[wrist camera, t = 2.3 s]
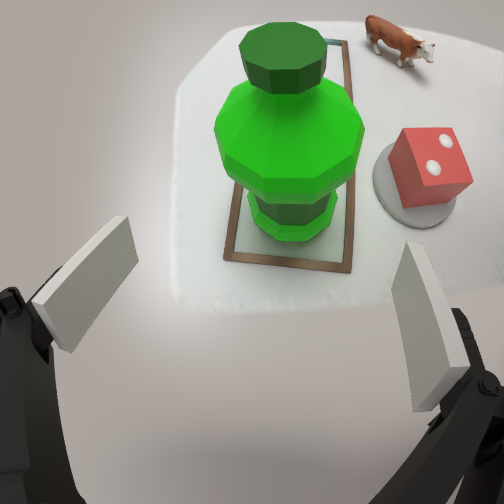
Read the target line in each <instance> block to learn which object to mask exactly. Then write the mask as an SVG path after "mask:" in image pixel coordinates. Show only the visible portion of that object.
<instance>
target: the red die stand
mask: <svg viewBox="0 0 504 504" xmlns="http://www.w3.org/2000/svg"><path fill="white" fill-rule="evenodd" d="M473 182H474V181H473V178H472V176H471V173H470V170H469V167H468V165H467V162H466V160H465V157H464V155H463V152H462V150H461V147H460V145H459V143H458V140H457V138H456V136H455V134H454V131H453V129H452V128H403V129H402V131H401V133H400V135H399V137H398V139H397V141H396V142H394V143H392V144H390V145H388V146H387V147H386V148H385V149H384V150H383V151H382V152H381V154H380V156H379V158H378V160H377V162H376V164H375V167H374V171H373V183H374V188H375V191H376V194H377V197H378V199H379V201H380V202H381V204H382V206H383V207H384V208H385V209H386V211H387V212H388V213H389V214H390V215H391V216H392V217H394V218H395V219H396V220H398V221H399V222H401V223H403V224H405V225H407V226H410V227H414V228H429V227H433V226H435V225H437V224H438V223H440V222H441V221H443V220H444V219H446V218H447V217H448V216H449V214H450V213H451V212H452V210H453V208H454V205H455V202H456V196H457V195H458V194H459V193H461V192H462V191H463V190H464V189H465V188H467V187H468V186H469V185H470V184H471V183H473Z"/></svg>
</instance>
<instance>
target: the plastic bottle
mask: <svg viewBox="0 0 504 504" xmlns="http://www.w3.org/2000/svg"><path fill="white" fill-rule="evenodd" d="M239 49H240V53H241V57H242V62H243V66H244V70H245V72H246V74H247V77H248V79H249V80H247V81H245V82H243V83H241V84H239V85H237V86H236V87H234V88H233V89H232V90H231V92H230V94H229V96H228V98H227V99H226V101H225V103H224V105H223V107H222V109H221V110H220V112H219V114H218V116H217V118H216V121H215V126H214V132H215V136H216V140H217V143H218V147H219V151H220V155H221V158H222V162H223V166H224V168H225V170H226V172H227V174H228V176H229V177H231V178H232V179H233V180H234V181H236V182H237V183H239V184H240V185H242V186H243V187H245V188H246V189H248V190H249V193H248V195H247V198H248V201H249V205H250V208H251V211H252V215H253V218H254V222H255V224H256V225H257V226H258V227H260V228H261V229H262V230H264V231H265V232H266V233H268V234H269V235H271V236H272V237H273V238H275V239H276V240H277V241H308V240H309V239H311V238H312V237H314V236H315V235H316V234H318V233H319V232H321V231H322V230H324V229H325V228H326V227H328V226H329V224H330V221H331V218H332V215H333V212H334V208H335V205H336V202H337V198H338V196H337V194H336V191H335V189H336V188H337V187H339V186H340V185H342V184H343V183H345V182H346V181H347V180H349V179H350V178H351V177H352V175H353V173H354V170H355V168H356V164H357V160H358V156H359V152H360V148H361V144H362V140H363V136H364V131H365V128H364V125H363V122H362V119H361V117H360V115H359V113H358V111H357V110H356V108H355V106H354V104H353V103H352V101H351V99H350V98H349V96H348V94H347V93H346V91H345V89H344V88H343V87H342V86H340V85H338V84H336V83H334V82H332V81H330V80H328V79H326V78H324V77H323V74H324V72H325V69H326V59H327V43H326V41H325V40H324V39H323V37H322V36H321V35H320V34H319V32H318V31H317V30H316V29H313V28H310V27H307V26H305V25H302V24H299V23H296V22H274V23H267V24H265V25H262V26H260V27H258V28H255V29H253V30H251V31H248V33H247V34H246V36H245V37H244V38H243V40H242V41H241V43H240V44H239Z"/></svg>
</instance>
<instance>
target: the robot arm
mask: <svg viewBox="0 0 504 504" xmlns="http://www.w3.org/2000/svg"><path fill="white" fill-rule="evenodd" d="M138 261H139V260H138V257H137V253H136V249H135V245H134V241H133V237H132V232H131V228H130V224H129V220H128V216H115V217H114V218H113V219H112V220H110V221H109V222H108V223H107V224H106V225H105V226H104V227H103V228H102V229H101V230H100V231H99V232H97V233H96V234H95V235H94V236H93V237H92V238H91V239H90V240H89V241H88V242H87V243H86V244H85V245H84V246H83V247H82V248H81V249H80V250H79V251H78V252H77V253H76V254H75V255H74V256H73V257H72V258H71V259H70V260H69V261H68V262H67V263H66V264H65V265H63V266H62V267H60V268H58V269H57V270H56V271H55V272H54V273H53V274H52V275H51V276H50V278H49V279H48V280H47V281H46V282H45V284H43V285H42V286H41V287H40V288H39V289H38V290H37V292H36V293H35V294H34V295H33V296H32V297H31V298H30V299H29V301H28V302H27V303H25V301H24V299H23V298H22V296H21V294H20V292H19V290H18V289H17V288H16V287H8V288H6V289H4V290H3V291H2V292H0V504H86V502H85V500H84V499H83V498H82V497H81V496H80V494H79V493H78V491H77V489H76V486H75V483H74V479H73V475H72V472H71V468H70V464H69V460H68V455H67V451H66V446H65V442H64V437H63V432H62V426H61V420H60V414H59V407H58V399H57V390H56V382H55V369H54V353H53V348H52V346H51V342H52V341H53V340H54V341H55V342H56V344H57V345H58V347H59V348H60V349H62V350H64V351H67V352H69V353H72V352H73V351H74V349H75V348H76V347H77V345H78V343H79V342H80V341H81V339H82V338H83V336H84V335H85V333H86V332H87V330H88V329H89V327H90V326H91V325H92V323H93V322H94V320H95V319H96V318H97V316H98V315H99V313H100V312H101V311H102V309H103V308H104V306H105V305H106V304H107V302H108V301H109V300H110V298H111V297H112V296H113V294H114V293H115V292H116V290H117V289H118V287H119V286H120V285H121V284H122V282H123V281H124V280H125V278H126V277H127V276H128V274H129V273H130V272H131V271H132V269H133V268H134V267H135V265H136V264H137V263H138ZM391 291H392V295H393V299H394V303H395V307H396V312H397V316H398V320H399V325H400V330H401V335H402V340H403V345H404V350H405V356H406V362H407V368H408V375H409V381H410V389H411V396H412V404H413V412H425V411H432V410H433V409H434V408H435V407H436V406H437V405H438V404H440V409H441V412H440V413H439V414H438V415H437V416H436V417H435V418H434V419H433V420H432V421H431V422H430V423H429V424H428V426H430V425H431V426H430V427H429V429H428V430H427V432H426V433H425V435H424V436H423V438H422V439H421V440H420V442H419V443H418V445H417V446H416V447H415V449H414V450H413V451H412V453H411V454H410V455H409V457H408V458H407V459H406V461H405V462H404V463H403V465H402V466H401V467H400V468H399V470H398V471H397V472H396V473H395V475H394V476H393V477H392V478H391V479H390V480H389V481H388V483H387V484H386V485H385V486H384V487H383V488H382V490H381V491H380V492H379V493H378V494H377V495H376V496H375V497H374V498H373V499H372V500H371V501H370V502H369V504H446V502H447V501H448V499H449V498H450V496H451V495H452V493H453V492H454V490H455V489H456V487H457V485H458V484H459V482H460V480H461V479H462V477H463V475H464V477H463V480H462V483H461V486H460V488H459V491H458V494H457V496H456V499H455V501H454V504H504V387H503V386H501V385H500V382H499V380H498V378H497V377H496V376H495V375H494V374H493V373H491V372H489V371H486V370H485V367H484V364H483V361H482V358H481V355H480V352H479V349H478V346H477V344H476V341H475V339H474V335H473V332H472V331H471V327H470V325H469V322H468V320H467V318H466V316H465V315H464V314H463V313H462V311H461V310H460V309H459V308H450V305H449V303H448V300H447V298H446V295H445V293H444V291H443V288H442V286H441V284H440V281H439V279H438V277H437V275H436V272H435V270H434V268H433V266H432V264H431V262H430V259H429V257H428V255H427V253H426V251H425V249H424V247H423V245H422V243H419V242H411V241H406V244H405V248H404V251H403V254H402V258H401V261H400V264H399V267H398V270H397V273H396V276H395V279H394V282H393V285H392V288H391Z"/></svg>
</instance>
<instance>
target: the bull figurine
mask: <svg viewBox="0 0 504 504" xmlns="http://www.w3.org/2000/svg"><path fill="white" fill-rule="evenodd" d="M365 25H366V31H367V33H366V36H367V41H368V42H369V43H371V42H372V43H373V46H374V49H373V51H375V53H376V54H377V55H381V53H380V50H379V49H378V46H377V44H378V43H377V42H378V40H379V39H382V40H383V42H384V43H385V44H386V45H387V46H388V47H391V48H393V49H396V50H398V51H400V52H401V55H400V59H399V60H398V61H397V62H396V63H397V64H398V67H400V68H402V67H403V66H402V61H404V60H405V59H406V58H409V60H408V63H409V66H411V67H414V64H413V61H412V59H416V58H417V59H419V58H421V57H422V58H424V59H425V60H426V62H428V63H433V62H434V60H433V52H434V51H433V47H434V46H435V44H432V45H431V43H429V42H425V40H424V39H423V38H422V37H420V36H419V35H415V34H413V33H411V32H409V31H406V30H403V29H401V28H399V27H398V26H396V25H394V24H392V23H390V22H388V21H386V20H384V19H382V18H380V17H377V16H374V15H369V16H368V17H367V18H366V21H365ZM368 30H369V31H368ZM369 32H370V33H369ZM370 34H371V35H372V37H371V35H370Z"/></svg>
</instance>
